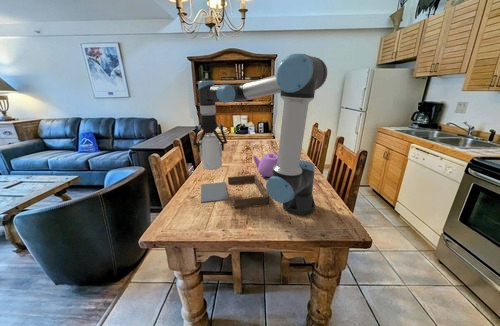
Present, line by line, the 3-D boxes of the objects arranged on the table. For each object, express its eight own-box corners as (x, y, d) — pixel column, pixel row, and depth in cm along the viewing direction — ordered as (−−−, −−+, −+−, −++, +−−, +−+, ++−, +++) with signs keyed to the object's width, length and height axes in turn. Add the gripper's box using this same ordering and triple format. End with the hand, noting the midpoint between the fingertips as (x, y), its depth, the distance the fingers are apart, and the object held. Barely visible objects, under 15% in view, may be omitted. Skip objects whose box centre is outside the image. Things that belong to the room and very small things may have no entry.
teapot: (259, 167, 158) (259, 147, 153) (286, 171, 151) (287, 150, 146) (249, 177, 141) (248, 155, 136) (279, 181, 134) (280, 158, 129)
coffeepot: (191, 175, 106) (187, 137, 100) (210, 159, 129) (208, 128, 123) (212, 176, 104) (210, 138, 98) (228, 160, 127) (226, 128, 121)
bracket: (269, 204, 107) (269, 197, 106) (234, 208, 104) (234, 200, 103) (255, 180, 136) (255, 174, 134) (228, 183, 132) (227, 177, 131)
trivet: (228, 199, 112) (228, 198, 112) (201, 202, 110) (200, 201, 110) (224, 183, 133) (224, 182, 133) (201, 185, 130) (201, 184, 130)
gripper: (229, 112, 113) (231, 153, 120) (185, 114, 109) (190, 156, 116) (231, 114, 106) (233, 157, 113) (184, 115, 102) (189, 160, 109)
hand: (211, 157), depth 115 cm, fingers closed on coffeepot, 10 cm apart
